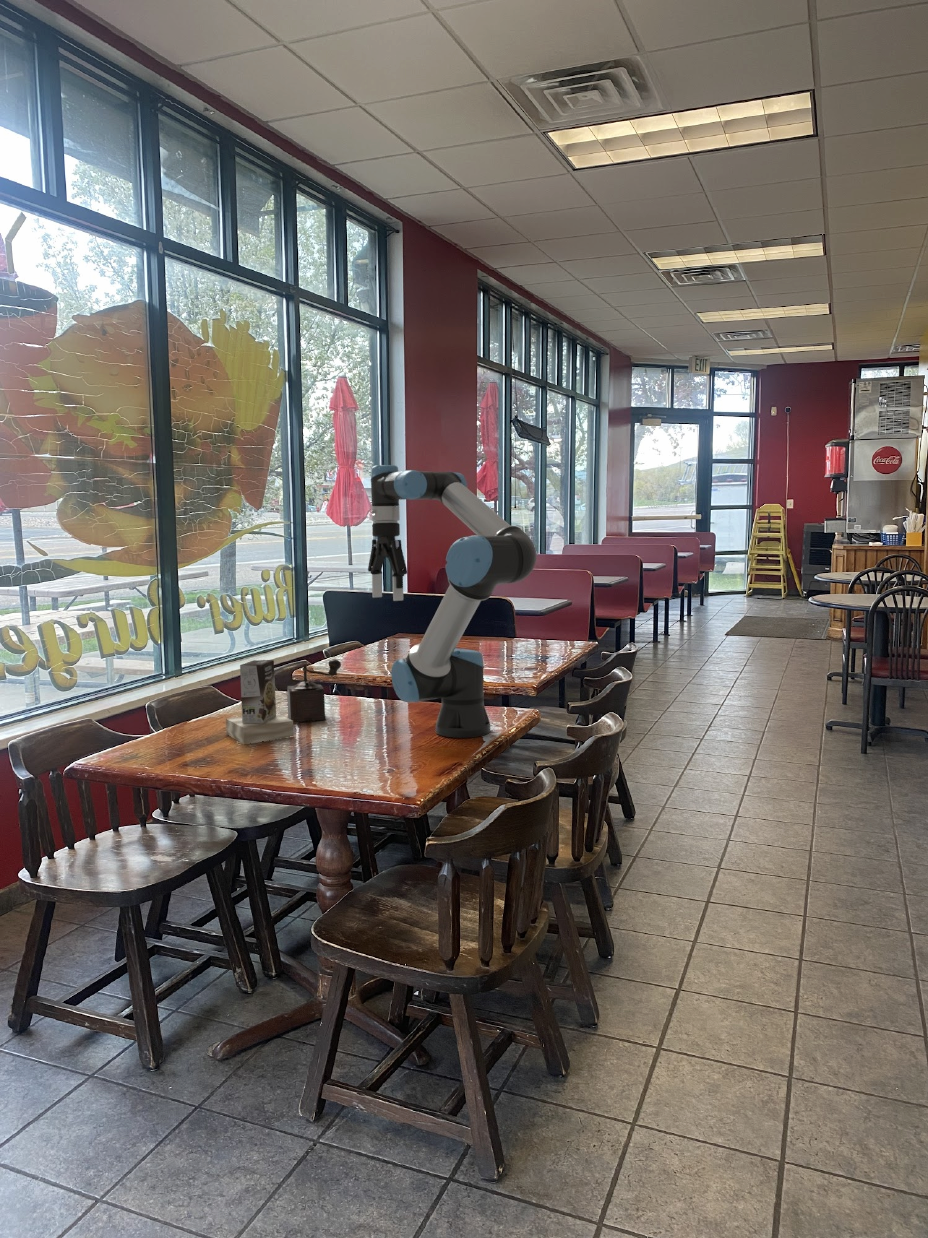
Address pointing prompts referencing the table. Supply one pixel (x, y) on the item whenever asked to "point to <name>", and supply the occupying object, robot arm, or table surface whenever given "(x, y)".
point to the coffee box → (258, 691)
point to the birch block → (259, 729)
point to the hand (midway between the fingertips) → (387, 598)
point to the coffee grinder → (309, 696)
